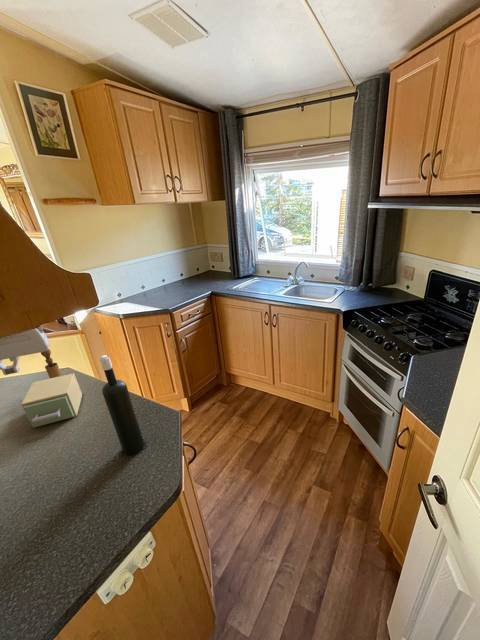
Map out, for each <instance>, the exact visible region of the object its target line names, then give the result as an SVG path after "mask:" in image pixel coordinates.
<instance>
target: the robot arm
mask: <svg viewBox="0 0 480 640" xmlns="http://www.w3.org/2000/svg"><path fill="white" fill-rule="evenodd" d="M44 331H45V329H44V325H43V324H42V326H40V327H38V328H35V329H32V330H29V331H26V332H23V333H20V334H17V335H15V336H12V337H8V338H5V339H2V340H0V371H2V374H3V375H4V376H8V375H12V374H17V373H18V374H19V372H20V367H19V361H20V358H21V357H23V356H24V357H25V356H30V355H34V354H39V353H40V354H41V352H45V351H47V349H50V346H51V343H50V340H49V338H48V336H47V335H46V333H45V332H44ZM7 359H8V360H9V361H10V362H11V363H12V365H6V364H4V363H3V362H2V361H3V360H7Z"/></svg>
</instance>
